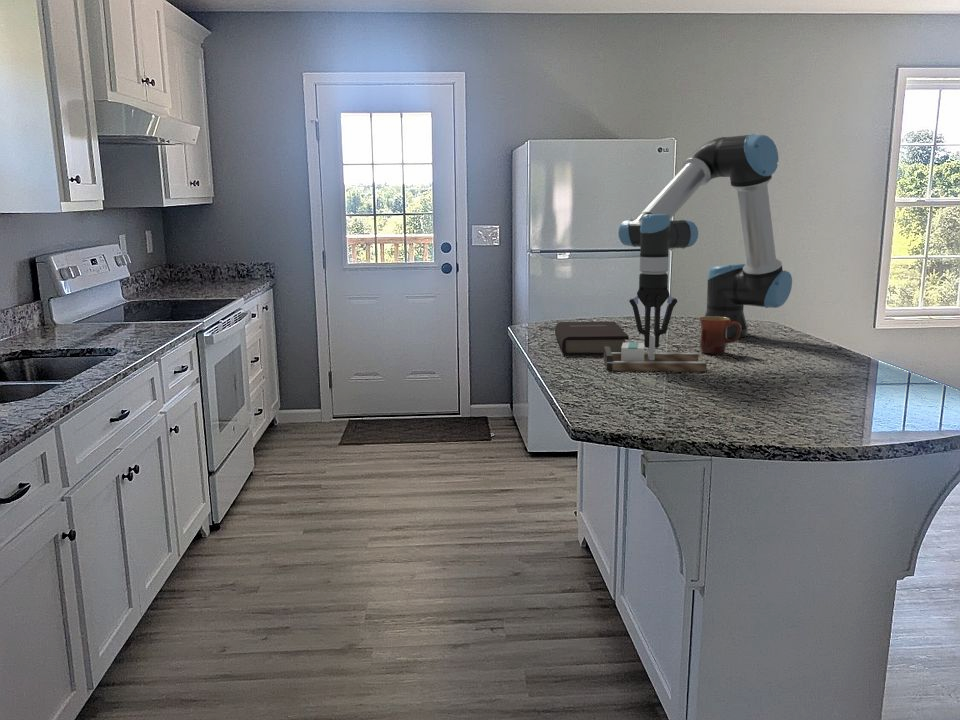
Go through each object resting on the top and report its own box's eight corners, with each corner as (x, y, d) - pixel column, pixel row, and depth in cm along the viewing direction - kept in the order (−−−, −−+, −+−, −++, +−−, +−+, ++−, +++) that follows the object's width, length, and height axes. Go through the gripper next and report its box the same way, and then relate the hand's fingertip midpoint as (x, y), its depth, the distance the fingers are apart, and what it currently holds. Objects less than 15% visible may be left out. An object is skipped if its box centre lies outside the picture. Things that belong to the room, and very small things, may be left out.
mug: (694, 354, 230) (696, 319, 228) (700, 349, 238) (701, 315, 235) (737, 357, 225) (739, 321, 223) (741, 351, 233) (743, 317, 231)
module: (644, 362, 220) (644, 342, 218) (643, 368, 212) (644, 347, 211) (622, 361, 221) (622, 341, 220) (620, 367, 213) (621, 347, 212)
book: (554, 339, 259) (554, 322, 258) (614, 339, 258) (614, 321, 257) (561, 356, 231) (561, 336, 230) (628, 356, 231) (628, 336, 230)
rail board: (697, 360, 221) (697, 346, 220) (706, 371, 208) (706, 356, 207) (603, 360, 223) (603, 346, 223) (606, 370, 210) (607, 355, 209)
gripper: (676, 271, 214) (673, 356, 218) (627, 271, 215) (625, 356, 219) (680, 273, 206) (677, 362, 211) (630, 274, 207) (628, 361, 212)
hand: (651, 359), depth 215 cm, fingers closed
